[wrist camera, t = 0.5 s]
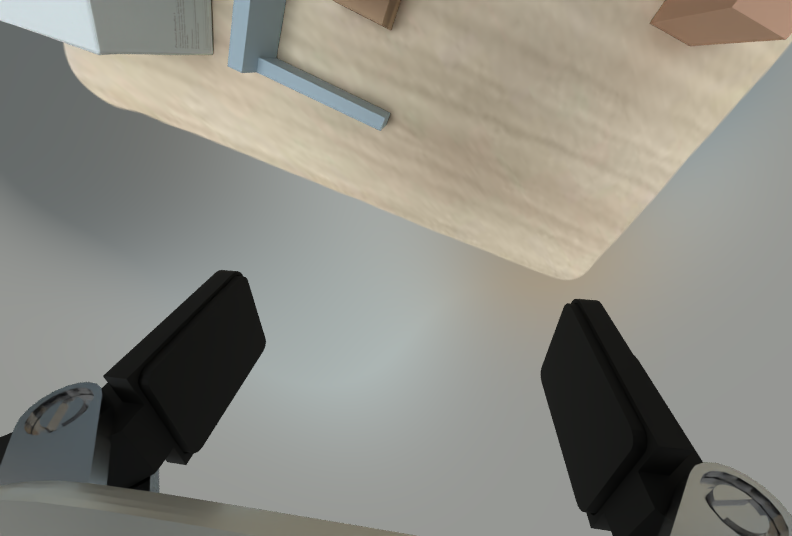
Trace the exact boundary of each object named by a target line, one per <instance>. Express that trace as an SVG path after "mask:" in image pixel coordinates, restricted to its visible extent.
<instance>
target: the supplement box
mask: <svg viewBox="0 0 792 536" xmlns="http://www.w3.org/2000/svg"><path fill="white" fill-rule="evenodd" d="M0 21H3V22H6V23H9V24H12V25H16V26H18V27H21V28H25V29H27V30H30V31H33V32H36V33H38V34H41V35H44V36H47V37H50V38H53V39H55V40H58V41H61V42H64V43H67V44H69V45H72V46H75V47H78V48H81V49H83V50H86V51H89V52H92V53H95V54H97V55H107V54H154V55H212V54H213V43H212V18H211V0H0Z"/></svg>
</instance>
